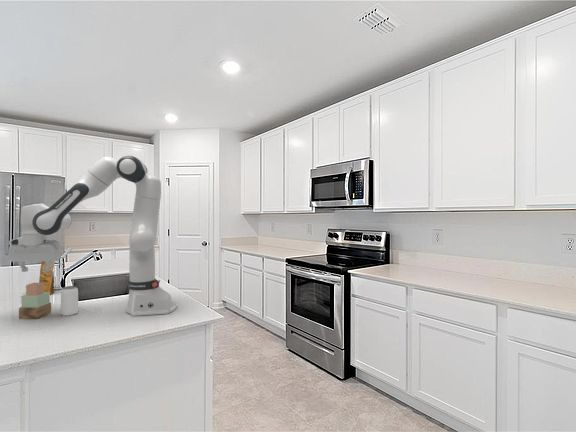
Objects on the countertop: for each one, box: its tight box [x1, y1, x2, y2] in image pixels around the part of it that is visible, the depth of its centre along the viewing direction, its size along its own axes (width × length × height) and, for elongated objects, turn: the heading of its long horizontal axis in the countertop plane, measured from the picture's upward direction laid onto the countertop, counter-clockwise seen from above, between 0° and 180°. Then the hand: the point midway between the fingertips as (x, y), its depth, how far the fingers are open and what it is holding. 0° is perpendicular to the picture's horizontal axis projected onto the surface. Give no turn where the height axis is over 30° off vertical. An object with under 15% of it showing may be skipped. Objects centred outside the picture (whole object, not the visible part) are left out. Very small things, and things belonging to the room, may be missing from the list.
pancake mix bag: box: [38, 261, 56, 296], centre depth 183 cm, size 7×19×28 cm, turn 52°
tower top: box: [20, 292, 51, 308], centre depth 144 cm, size 7×7×5 cm
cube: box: [25, 282, 44, 295], centre depth 144 cm, size 4×4×4 cm
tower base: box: [18, 302, 52, 320], centre depth 145 cm, size 8×8×5 cm
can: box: [60, 285, 79, 317], centre depth 148 cm, size 6×6×12 cm
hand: (35, 271), depth 144 cm, fingers open, 8 cm apart
